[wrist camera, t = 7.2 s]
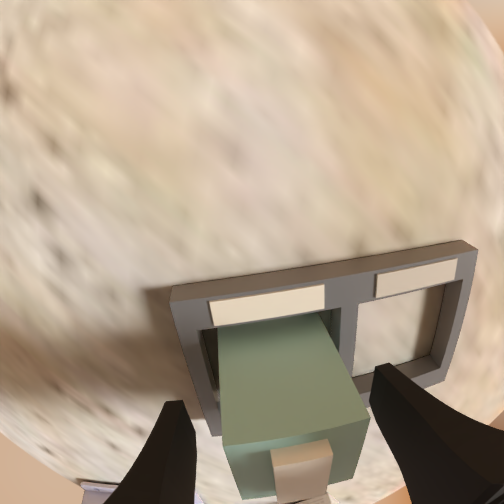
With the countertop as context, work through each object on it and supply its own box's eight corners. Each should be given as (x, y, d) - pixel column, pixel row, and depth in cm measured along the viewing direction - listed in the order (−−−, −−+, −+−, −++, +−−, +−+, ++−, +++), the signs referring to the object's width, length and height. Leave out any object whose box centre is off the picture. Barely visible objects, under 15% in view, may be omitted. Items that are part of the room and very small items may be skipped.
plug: (231, 388, 14) (243, 513, 8) (217, 321, 13) (223, 464, 7) (314, 375, 14) (357, 491, 8) (314, 306, 13) (378, 433, 7)
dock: (211, 418, 15) (212, 438, 14) (172, 286, 12) (168, 303, 11) (434, 368, 16) (444, 381, 14) (462, 240, 13) (479, 250, 11)
